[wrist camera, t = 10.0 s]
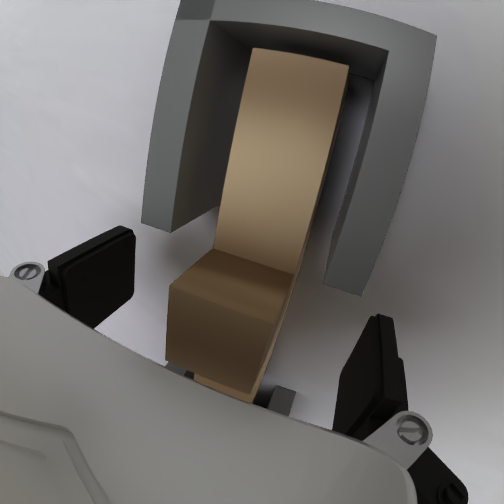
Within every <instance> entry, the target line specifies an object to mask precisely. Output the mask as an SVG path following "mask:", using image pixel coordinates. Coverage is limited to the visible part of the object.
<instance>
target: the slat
mask: <svg viewBox="0 0 504 504" xmlns="http://www.w3.org/2000/svg"><path fill="white" fill-rule="evenodd" d="M348 86H349V66H348V65H344V64H340V63H336V62H332V61H327V60H323V59H318V58H314V57H309V56H304V55H298V54H293V53H287V52H281V51H274V50H267V49H260V48H253V50H252V54H251V58H250V63H249V67H248V71H247V76H246V80H245V85H244V89H243V94H242V99H241V103H240V108H239V113H238V117H237V122H236V127H235V132H234V137H233V142H232V147H231V152H230V157H229V162H228V167H227V172H226V178H225V183H224V188H223V194H222V199H221V205H220V210H219V216H218V222H217V227H216V233H215V239H214V245H213V249H211V250H210V251H209V252H208V253H207V254H205V255H204V256H203V257H202V258H201V259H200V260H198V261H197V262H196V263H195V264H194V265H193V266H191V267H190V268H189V269H188V270H187V271H186V272H184V273H183V274H182V275H181V276H180V277H179V278H178V279H176V280H175V281H174V282H173V283H172V284H171V285H170V286H169V299H168V314H167V332H166V355H165V360H166V361H169V362H171V363H173V364H175V365H177V366H180V367H182V368H184V369H186V370H188V371H191V372H193V373H195V374H194V380H195V381H197V382H199V383H202V384H204V385H206V386H209V387H211V388H213V389H216V390H218V391H221V392H223V393H225V394H228V395H230V396H233V397H236V398H238V399H241V400H243V401H246V402H249V403H251V404H252V402H253V400H254V398H255V395H256V393H257V391H258V388H259V386H260V383H261V381H262V379H263V376H264V374H265V371H266V369H267V366H268V363H269V360H270V357H271V354H272V351H273V349H274V346H275V343H276V340H277V337H278V334H279V331H280V328H281V325H282V322H283V319H284V316H285V313H286V310H287V307H288V304H289V301H290V298H291V294H292V291H293V288H294V285H295V282H296V279H297V275H298V272H299V269H300V266H301V262H302V259H303V256H304V253H305V249H306V246H307V243H308V239H309V236H310V232H311V229H312V225H313V222H314V219H315V215H316V211H317V208H318V204H319V201H320V197H321V194H322V190H323V186H324V183H325V179H326V175H327V171H328V168H329V164H330V160H331V156H332V152H333V148H334V144H335V140H336V136H337V132H338V128H339V124H340V120H341V116H342V112H343V108H344V103H345V99H346V95H347V90H348Z"/></svg>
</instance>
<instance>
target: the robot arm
mask: <svg viewBox="0 0 504 504" xmlns="http://www.w3.org/2000/svg"><path fill="white" fill-rule="evenodd" d="M135 246H136V236H135V235H134V233H133V230H132V229H129V228H126V227H123V226H117V227H115V228H113V229H111V230H109V231H107V232H104V233H102V234H100V235H98V236H96V237H94V238H92V239H90V240H88V241H86V242H84V243H82V244H80V245H78V246H76V247H74V248H72V249H70V250H68V251H66V252H64V253H62V254H60V255H59V256H57V257H55V258H53V259H51V260H49V261H48V269H49V270H47V271H46V272H45V268H44V266H43V265H42V264H40V263H37V262H25V263H21V264H19V265H17V266H16V267H14V268H13V270H12V271H11V273H10V275H9V277H4V276H0V504H467V503H468V492H467V489H466V487H465V485H464V484H463V483H462V482H461V481H460V480H459V478H458V477H457V476H456V475H455V474H454V473H453V472H452V471H451V470H450V469H449V468H448V467H447V466H446V465H445V464H444V463H443V462H442V461H441V460H440V459H439V458H438V457H437V456H436V454H435V453H434V452H433V451H432V450H431V449H430V448H429V447H428V446H429V445H430V443H431V441H432V437H433V433H432V428H431V426H430V424H429V423H428V421H427V420H426V419H425V418H424V417H422V416H421V415H420V414H418V413H415V412H413V411H408V400H407V390H406V380H405V372H404V364H403V360H402V359H401V358H398V351H397V343H396V336H395V330H394V323H393V319H392V318H391V317H387V316H384V315H381V314H377V315H376V316H375V317H374V316H371V317H370V318H369V320H368V322H367V324H366V326H365V328H364V330H363V332H362V334H361V336H360V338H359V340H358V342H357V343H356V345H355V347H354V349H353V351H352V353H351V355H350V357H349V358H348V360H347V362H346V364H345V366H344V367H343V369H342V372H341V374H340V378H339V386H338V394H337V401H336V408H335V415H334V421H333V428H332V430H329V429H326V428H323V427H319V426H316V425H313V424H310V423H307V422H304V421H301V420H298V419H295V418H292V417H288V416H285V415H282V414H279V413H277V412H274V411H271V410H268V409H265V408H262V407H260V406H257V405H254V404H251V403H249V402H246V401H243V400H241V399H238V398H236V397H233V396H230V395H228V394H225V393H223V392H221V391H218V390H216V389H213V388H211V387H209V386H206V385H204V384H202V383H199V382H197V381H195V380H192V379H190V378H188V377H186V376H184V375H181V374H179V373H177V372H175V371H173V370H171V369H168V368H166V367H164V366H162V365H160V364H158V363H156V362H154V361H152V360H150V359H148V358H146V357H144V356H142V355H140V354H138V353H136V352H134V351H132V350H131V349H129V348H127V347H125V346H123V345H121V344H119V343H118V342H116V341H114V340H112V339H110V338H109V337H107V336H105V335H103V334H101V333H100V332H98V331H96V330H94V328H95V327H96V326H98V325H99V324H100V323H101V322H102V321H104V320H105V319H106V318H107V317H109V316H110V315H111V314H112V313H113V312H115V311H116V310H117V309H118V308H120V307H121V306H122V305H123V304H125V303H126V302H127V301H128V300H130V299H131V298H132V296H133V294H134V274H135Z"/></svg>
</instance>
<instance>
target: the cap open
mask: <svg viewBox="0 0 504 504" xmlns="http://www.w3.org/2000/svg"><path fill="white" fill-rule="evenodd" d="M436 39H437V36H436V35H434V34H431V33H429V32H426V31H424V30H421V29H419V28H416V27H413V26H410V25H408V24H405V23H402V22H399V21H396V20H393V19H389V18H386V17H383V16H380V15H376V14H373V13H369V12H365V11H361V10H357V9H353V8H349V7H345V6H340V5H335V4H330V3H325V2H319V1H314V0H181V2H180V5H179V8H178V12H177V15H176V19H175V23H174V26H173V30H172V34H171V38H170V42H169V46H168V50H167V54H166V58H165V63H164V67H163V72H162V77H161V81H160V86H159V91H158V97H157V102H156V108H155V113H154V119H153V125H152V132H151V138H150V145H149V152H148V160H147V168H146V176H145V185H144V195H143V205H142V217H141V223H143V224H146V225H149V226H152V227H155V228H158V229H161V230H163V231H166V232H169V233H171V232H173V231H175V230H176V229H178V228H180V227H181V226H183V225H185V224H187V223H188V222H190V221H192V220H193V219H195V218H197V217H199V216H200V215H202V214H204V213H206V212H207V211H209V210H211V209H213V208H214V207H216V206H218V205H220V204H221V199H222V194H223V188H224V183H225V178H226V172H227V167H228V162H229V157H230V152H231V147H232V142H233V137H234V132H235V127H236V122H237V117H238V113H239V108H240V103H241V99H242V94H243V89H244V85H245V80H246V76H247V71H248V67H249V63H250V58H251V54H252V50H253V48H260V49H267V50H274V51H281V52H287V53H293V54H298V55H304V56H309V57H314V58H318V59H323V60H327V61H332V62H336V63H340V64H344V65H348V66H349V73H352V74H355V75H359V76H362V77H366V78H369V79H372V80H375V83H374V88H373V92H372V96H371V100H370V105H369V109H368V113H367V117H366V121H365V125H364V129H363V133H362V137H361V140H360V144H359V148H358V152H357V155H356V159H355V163H354V166H353V170H352V173H351V177H350V180H349V184H348V187H347V190H346V194H345V197H344V200H343V204H342V207H341V210H340V213H339V217H338V220H337V223H336V226H335V229H334V232H333V235H332V240H331V246H330V251H329V256H328V262H327V267H326V272H325V277H324V282H323V284H325V285H328V286H331V287H334V288H337V289H340V290H343V291H346V292H349V293H352V294H355V295H358V296H362V293H363V291H364V289H365V286H366V284H367V282H368V279H369V277H370V274H371V272H372V270H373V267H374V265H375V262H376V260H377V257H378V254H379V252H380V249H381V247H382V244H383V241H384V239H385V236H386V233H387V231H388V228H389V225H390V222H391V219H392V217H393V214H394V211H395V208H396V205H397V202H398V199H399V196H400V193H401V190H402V186H403V183H404V180H405V177H406V173H407V170H408V167H409V163H410V160H411V156H412V153H413V149H414V145H415V142H416V138H417V134H418V130H419V126H420V122H421V118H422V114H423V109H424V105H425V100H426V96H427V91H428V86H429V81H430V76H431V70H432V64H433V59H434V52H435V46H436Z"/></svg>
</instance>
